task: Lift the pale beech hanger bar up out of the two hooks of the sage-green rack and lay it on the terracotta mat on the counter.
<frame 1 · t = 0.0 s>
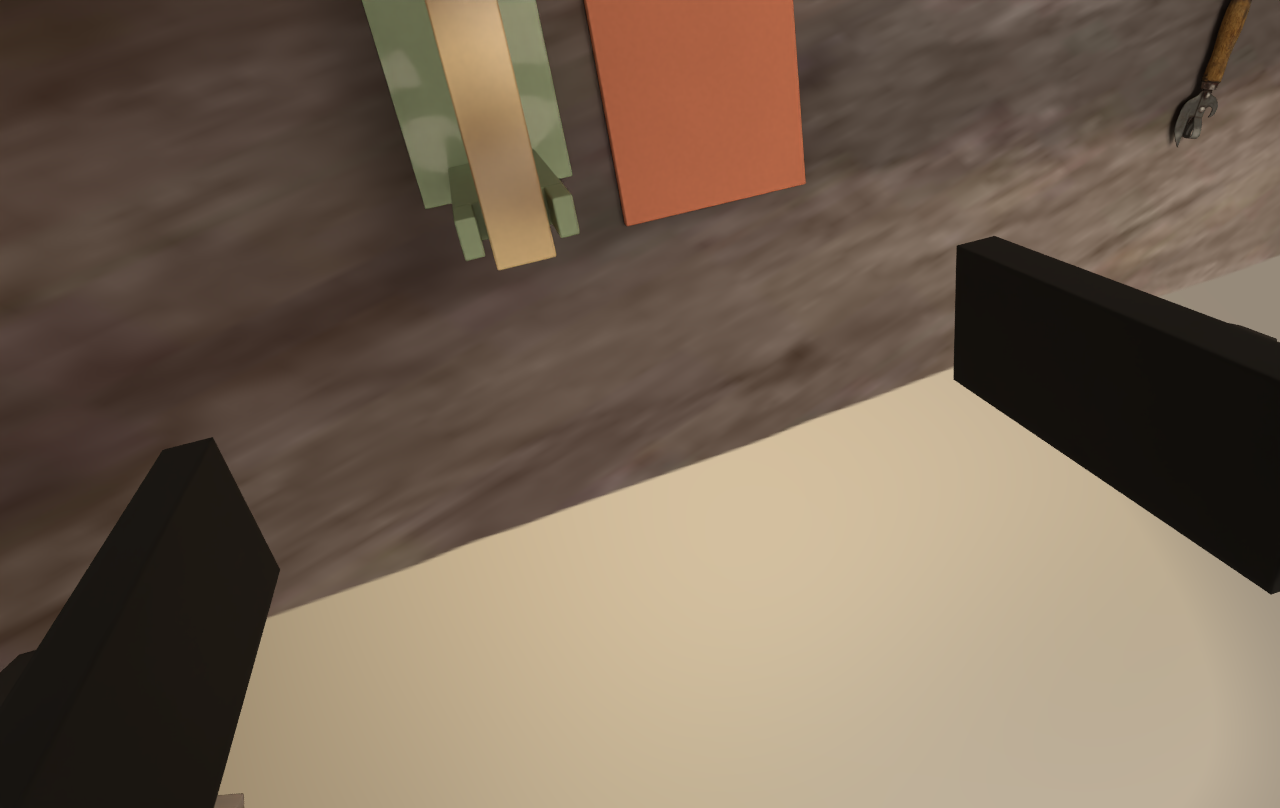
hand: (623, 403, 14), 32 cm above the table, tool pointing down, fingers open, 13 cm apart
can opener: (1201, 70, 49), on the table
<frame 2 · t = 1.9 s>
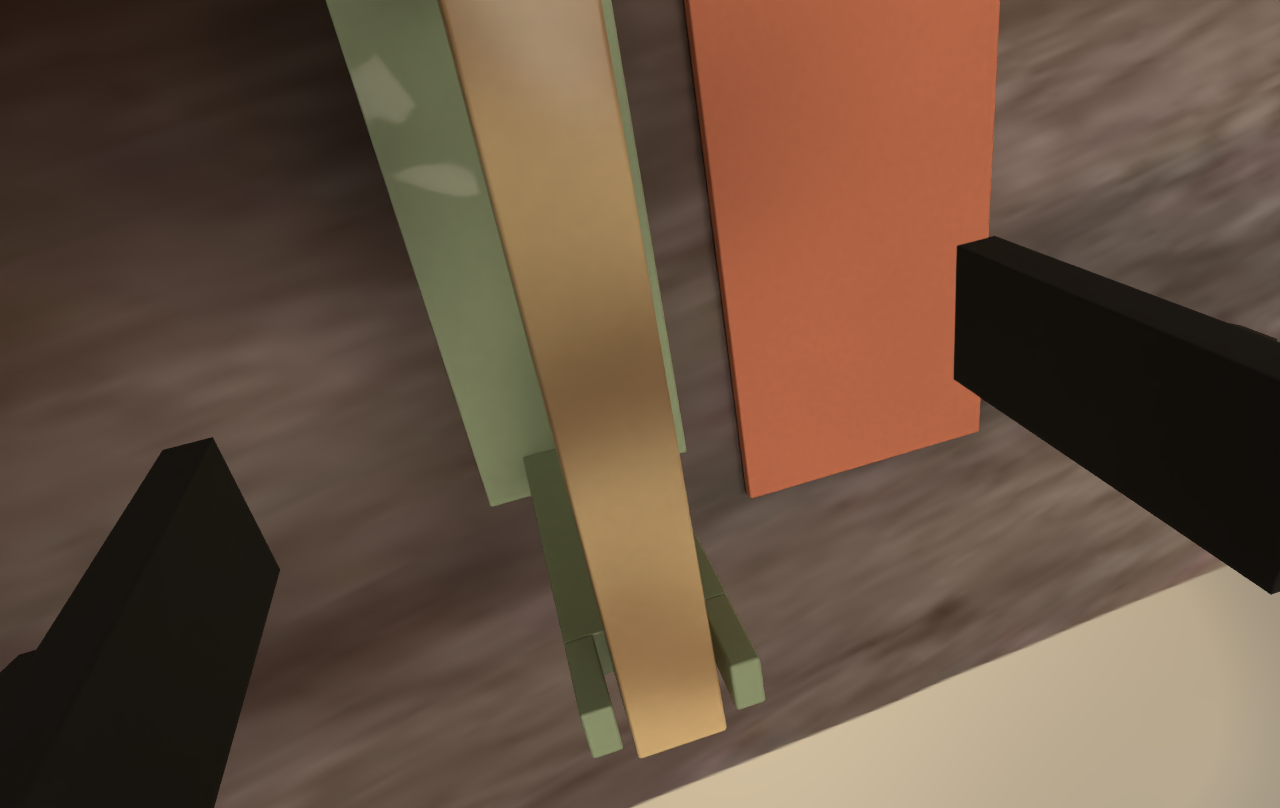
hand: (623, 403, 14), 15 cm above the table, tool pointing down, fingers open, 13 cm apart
mat: (850, 191, 29), on the table
rack: (523, 211, 26), on the table
hanger bar: (580, 323, 17), point 11 cm above the table, touching rack
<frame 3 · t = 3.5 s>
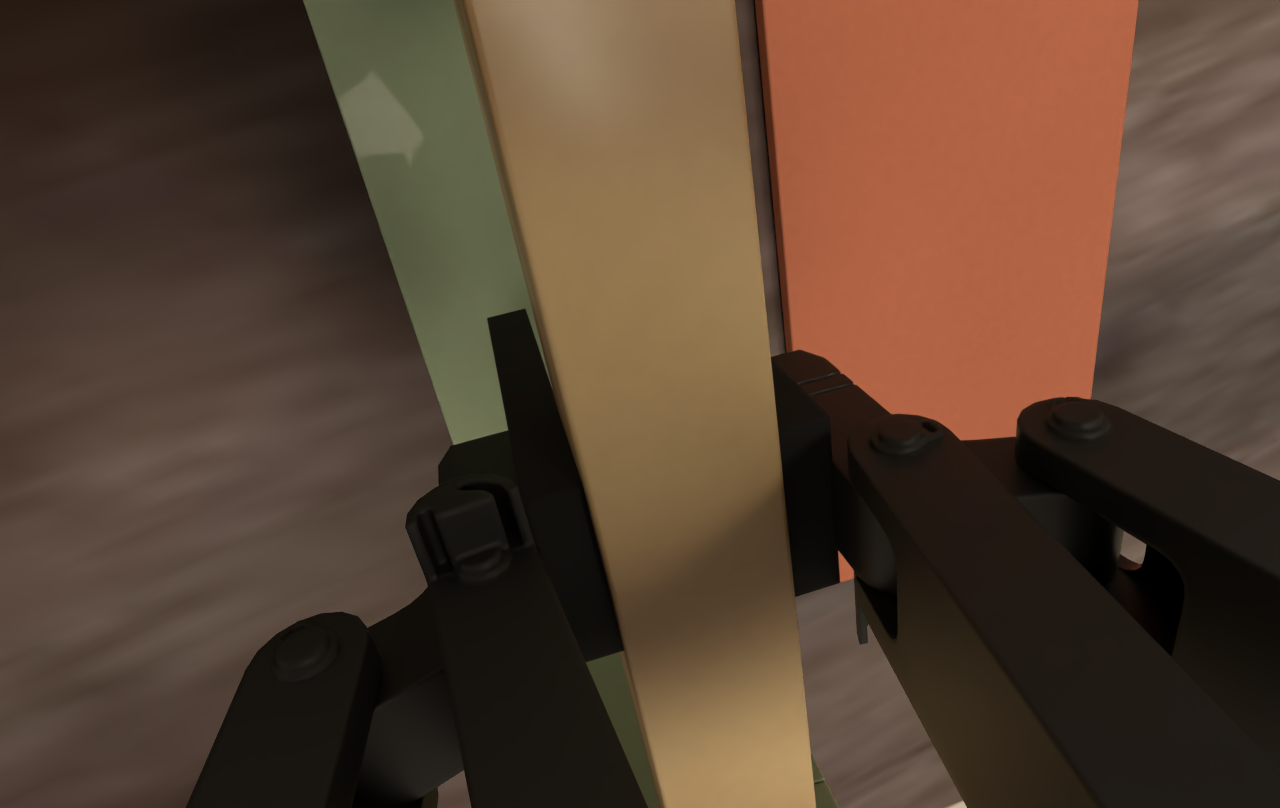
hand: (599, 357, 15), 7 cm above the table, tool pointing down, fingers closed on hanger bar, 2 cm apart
mat: (944, 236, 24), on the table
rack: (553, 266, 21), on the table
hanger bar: (652, 462, 12), point 11 cm above the table, touching gripper, rack
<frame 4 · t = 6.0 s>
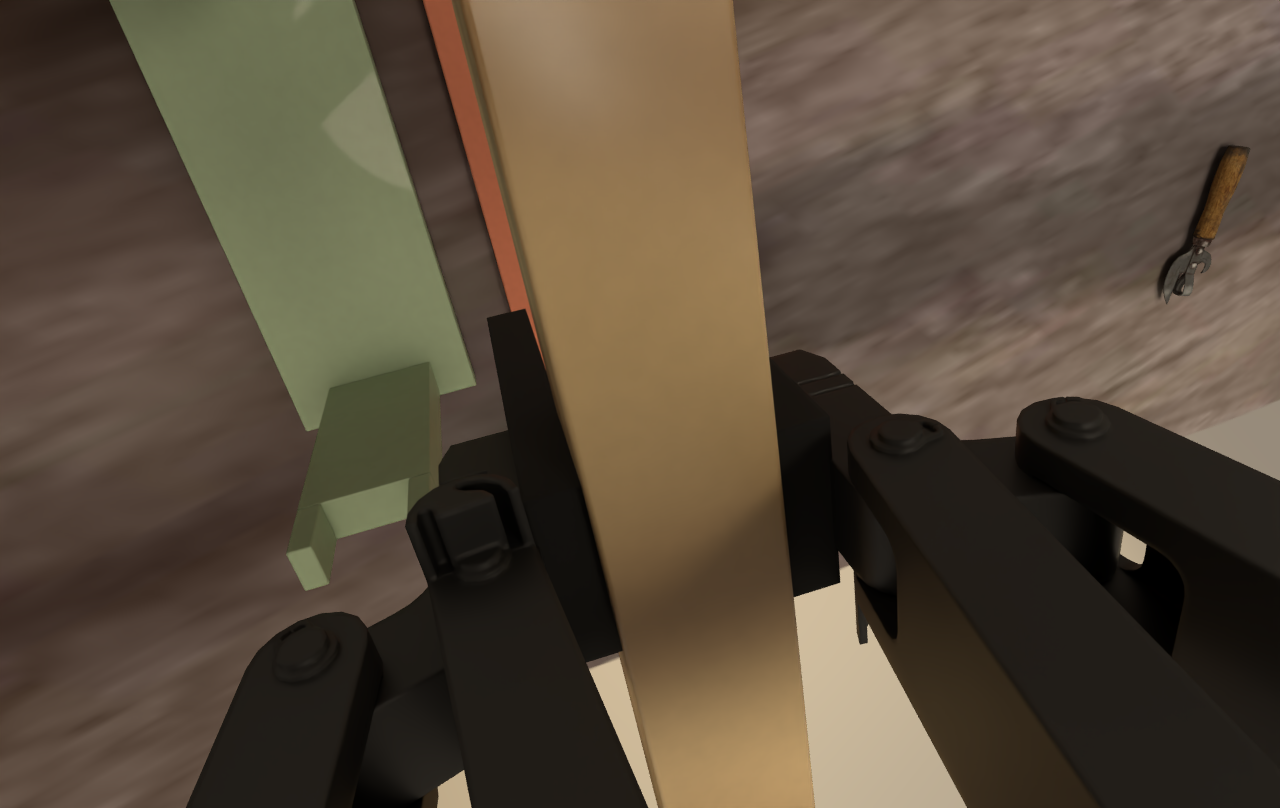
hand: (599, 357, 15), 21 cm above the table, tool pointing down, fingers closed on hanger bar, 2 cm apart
mat: (597, 162, 34), on the table
rack: (309, 180, 32), on the table
can opener: (1192, 223, 44), on the table
hanger bar: (651, 464, 12), point 25 cm above the table, touching gripper
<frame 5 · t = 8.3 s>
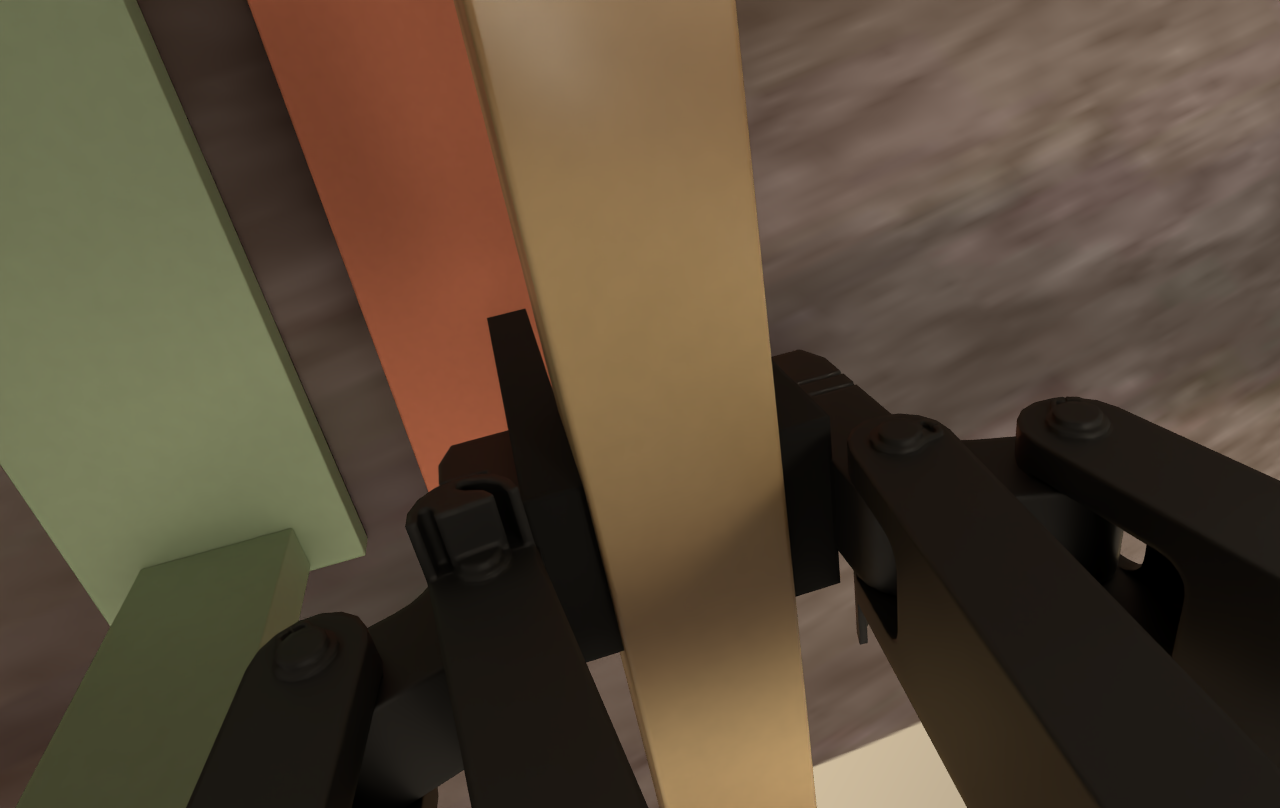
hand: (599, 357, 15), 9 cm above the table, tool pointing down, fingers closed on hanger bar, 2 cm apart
mat: (539, 242, 23), on the table
rack: (87, 274, 21), on the table
hanger bar: (653, 464, 12), point 13 cm above the table, touching gripper
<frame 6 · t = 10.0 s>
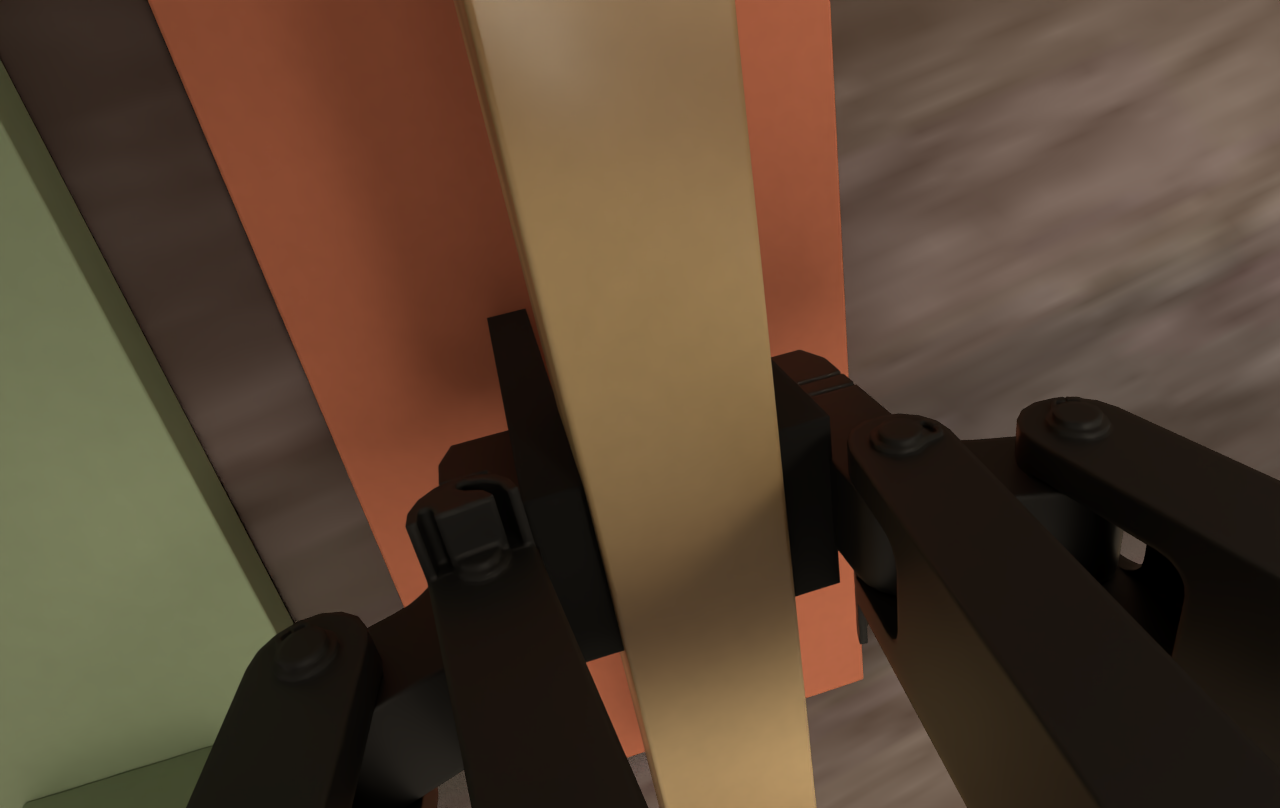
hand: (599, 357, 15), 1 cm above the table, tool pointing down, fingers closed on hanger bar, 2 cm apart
mat: (591, 341, 16), on the table
hanger bar: (653, 464, 12), point 5 cm above the table, touching gripper
when the fingers open (1 cm above the table, at t = 10.9 s): hanger bar drops 5 cm, resting on mat.
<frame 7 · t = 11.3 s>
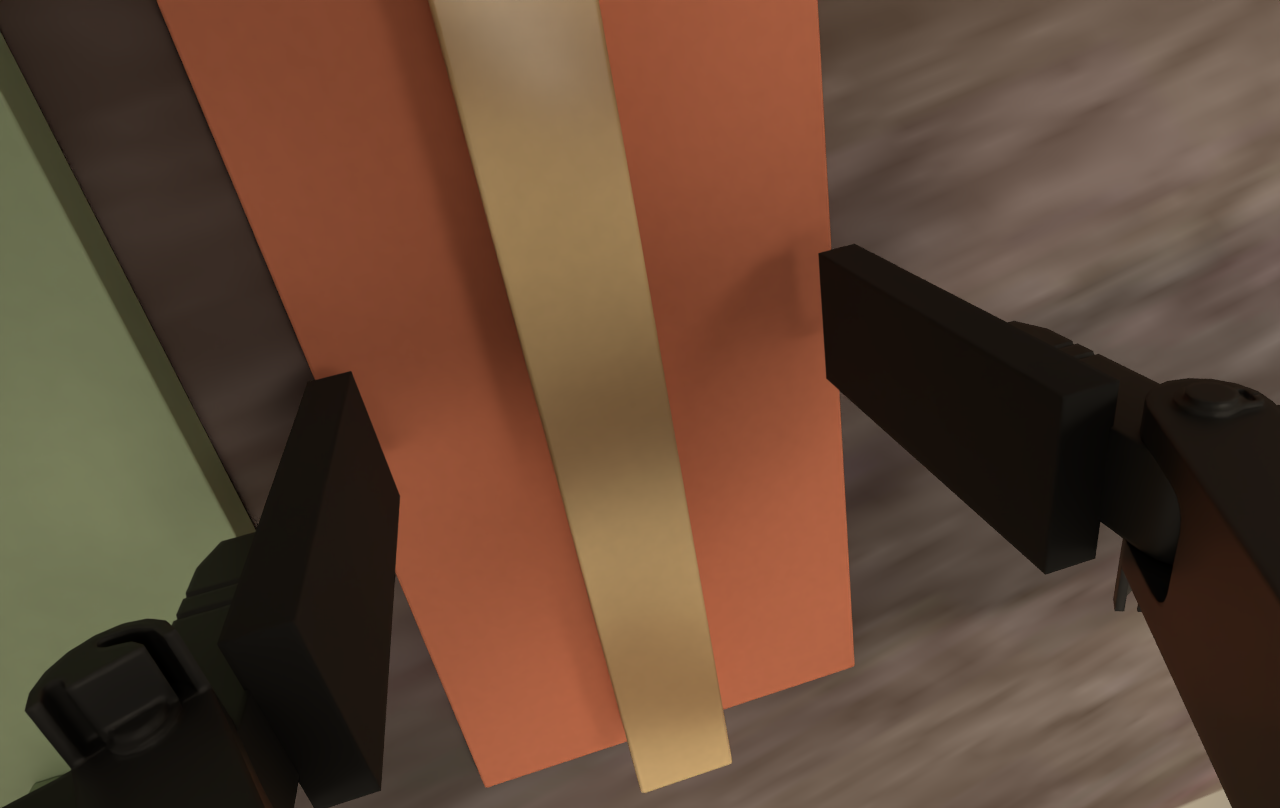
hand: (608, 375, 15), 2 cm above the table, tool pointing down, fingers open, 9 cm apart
mat: (587, 332, 17), on the table
hanger bar: (581, 347, 16), point 1 cm above the table, touching mat
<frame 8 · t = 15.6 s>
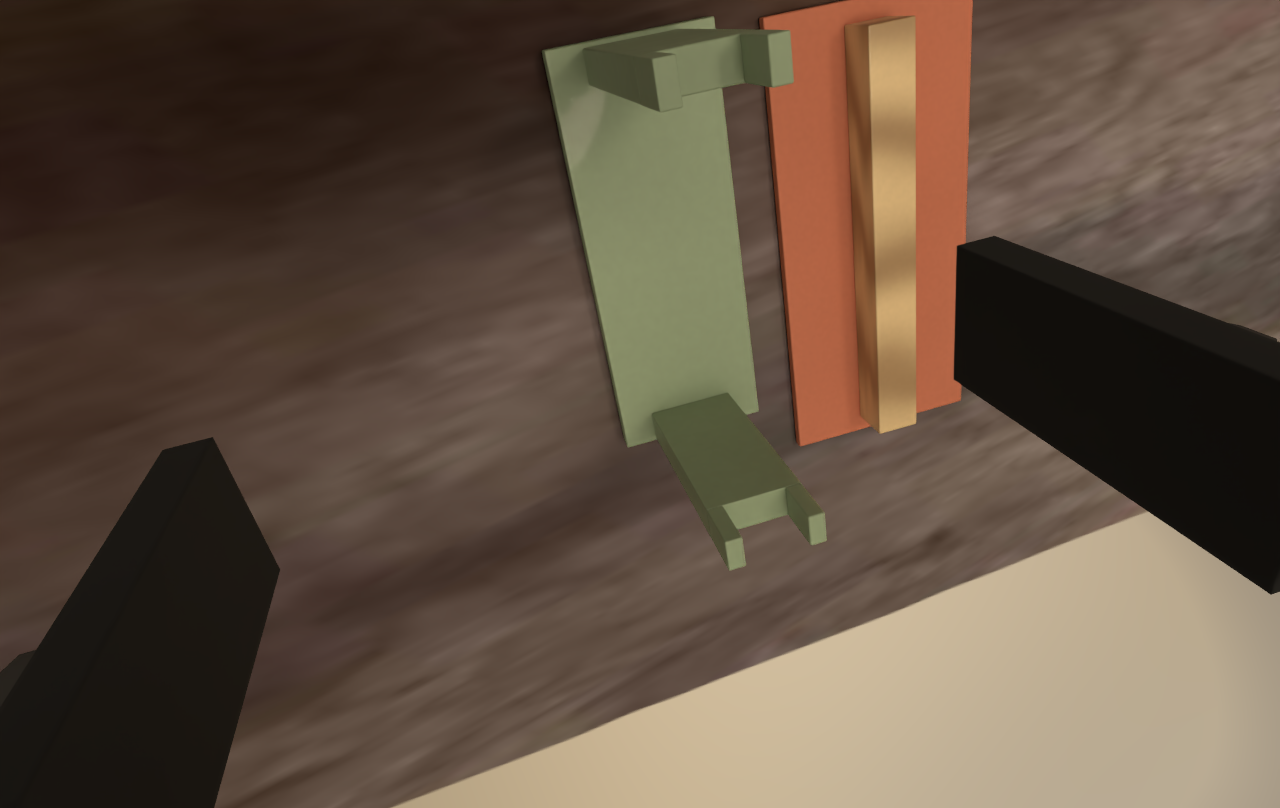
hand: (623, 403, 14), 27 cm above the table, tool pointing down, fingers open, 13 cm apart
mat: (871, 235, 43), on the table
rack: (661, 251, 41), on the table
hanger bar: (872, 239, 43), point 1 cm above the table, touching mat
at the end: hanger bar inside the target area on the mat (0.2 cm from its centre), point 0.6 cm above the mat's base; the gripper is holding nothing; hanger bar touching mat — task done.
